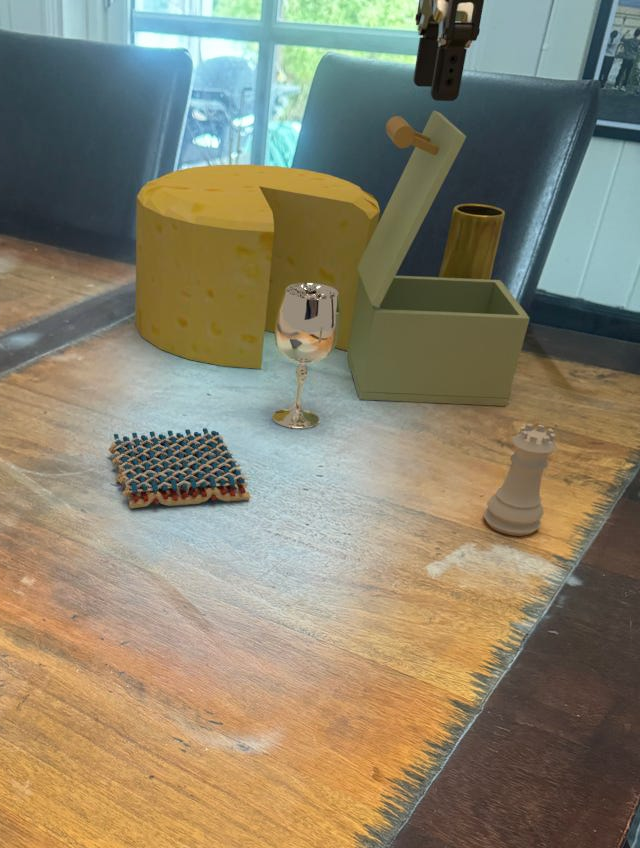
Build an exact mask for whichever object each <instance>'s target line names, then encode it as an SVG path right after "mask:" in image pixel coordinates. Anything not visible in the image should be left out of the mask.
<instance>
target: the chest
mask: <svg viewBox="0 0 640 848" xmlns="http://www.w3.org/2000/svg"><path fill="white" fill-rule="evenodd" d="M529 323H530V316H529V315H528V314H527V312H526V311H525V309H523V306H521V304H520V303H519V302H518V300H517V299H516V298H515V297H514V296H513V294H512V293H511V292H510V290H509V289H508V288H507V286H506V285H505V284H504V283H503V281H502V280H501V279H490V280H487V279H463V278H440V277H439V276H437V277H436V276H417V275H416V276H415V275H395V277H394V279H393V281H392V283H391V285H390V287H389V289H388V291H387V293H386V294H385V296H384V298H383V300H382V302H381V304H380V306H379V307H376V306H373V305H371V302H370V300H369V297H368V294H367V292H366V289H365V287H364V284H363V282H362V279H361V277H360V274H359V280H358V287H357V293H356V300H355V306H354V313H353V319H352V326H351V332H350V339H349V345H348V351H346V358H347V361H348V365H349V368H350V371H351V375H352V378H353V381H354V385H355V389H356V392H357V395H358V398H359V400H360V401H361V400H363V401H364V400H365V401H385V402H386V401H387V402H408V403H409V402H410V403H426V404H427V403H428V404H429V403H430V404H449V405H451V404H453V405H471V406H472V405H475V406H496V407H506V406H507V405H508V401H509V398H510V393H511V389H512V385H513V383H514V380H515V379H514V378H515V375H516V372H517V367H518V363H519V360H520V357H521V353H522V349H523V345H524V341H525V338H526V334H527V330H528V326H529Z"/></svg>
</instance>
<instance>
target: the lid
mask: <svg viewBox="0 0 640 848" xmlns="http://www.w3.org/2000/svg"><path fill="white" fill-rule="evenodd" d="M385 132H386V134H387V136H388V137H389V138H390V140H391V141H392V142H393V143H394V145H395V146H396V147H397V148H399V149H407V148H409V147H410V146H413V147H414V149H413V151H412V153H411V155H410V157H409V159H408V162H407V163H406V165H405V168H404V169H403V172H402V174H401V176H400V178H399V180H398V182H397V184H396V187H395V188H394V190H393V193H392V194H391V197H390V198H389V201H388V202H387V205H386V207H385V208H384V211H383V213H382V215H381V217H380V218H379V220H378V225H377V227H376V229H375V231H374V234H373V236H372V238H371V240H370V242H369V244H368V246H367V248H366V250H365V252H364V254H363V256H362V258H361V260H360V262H359V264H358V266H357V269H358V272H359V274H360V277H361V279H362V282H363V284H364V287H365V289H366V292H367V294H368V297H369V300H370V302H371V305H373V306H376V307H379V306H380V304H381V302H382V300H383V298H384V296H385V294H386V293H387V291H388V289H389V287H390V285H391V283H392V281H393V279H394V277H395V276H397V273H398V271H399V269H400V267H401V265H402V263H403V261H404V259H405V257H406V255H407V253H408V252H409V250H410V248H411V246H412V244H413V242H414V240H415V238H416V237H417V234H418V233H419V231H420V229H421V226H422V225H423V223H424V220H425V218H426V217H427V215H428V213H429V210H430V209H431V207H432V205H433V203H434V201H435V199H436V197H437V195H438V193H439V191H440V189H441V187H442V185H443V183H444V182H445V179H446V178H447V176H448V173H449V172H450V170H451V168H452V166H453V164H454V163H455V160H456V158H457V157H458V154H459V152H460V151H461V149H462V146H463V144H464V143H465V140H466V138H467V135H465V134H464V133H463V132H462V130H460V129H459V128H458V127H457V126H456V125H454V124H453V123H452V122H451V121H450V120H449V119H448V118H446V117H445V116H444V115H443V114H442V113H441V112H438V111H437V110H435V109H434V110H432V112H431V114H430V116H429V119H428V121H427V122H426V125H425V127H424V128H423V130H422V133H421V132H419V131H417V130H414V128H413V127H412V126H411V125H410V124H409V123H408V122H407V121H406V119H404V117H402V116H400V115H394V116H392V117H390V118H389V119H388V121H387V122H386V125H385Z"/></svg>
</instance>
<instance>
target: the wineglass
mask: <svg viewBox="0 0 640 848" xmlns="http://www.w3.org/2000/svg"><path fill="white" fill-rule="evenodd" d="M339 330H340V305H339V294H338V291H337V290H336V289H334V288H332V287H330V286H326V285H322V284H316V283H297V284H292V285H290V286H288V287H286V289H285V292H284V295H283V298H282V300H281V303H280V306H279V310H278V314H277V318H276V324H275V333H274V342H275V345H276V347H277V350H278V351H279V352H280V353H281V355H282V356H283V357H285V358H286V359H288V360H290V361H292V362H294V363H297V364H299V365H298V366H297V367H296V370H295V377H296V395H295V400H294V401H295V402H294V404H293V406H292V407H285V408H281V409H278V410H276V411H274V413H273V414H272V420H273V421H274V422H275V423H276V424H278V425H279V426H282V427H285V428H289V429H290V428H291V429H298V430H300V429H301V430H304V429H310V428H313V427H315V426H318V424H319V423H320V417H319V416H318V414H316V413H315V412H314V411H311V410H308V409H305V408H302V406H301V405H302V403H301V400H302V390H303V387H304V383H305V380H306V379H307V375H308V367H307V365H306V364H309V365H310V364H313V363H317V362H320V361H322V360H325V359H326V358H327V357H329V356H330V355H331V354H332V352H333V351H335V349H336V348H335V346H336V343H337V340H338V336H339Z"/></svg>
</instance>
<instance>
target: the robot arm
mask: <svg viewBox="0 0 640 848" xmlns="http://www.w3.org/2000/svg"><path fill="white" fill-rule="evenodd" d="M484 3H485V0H418V6H417V11H416V14H415V17H414V18H415V25H416V26H417V35H418V36H422V37H419V40H418V47H417V52H416V53H417V54H416V59H415V66H414V74H413V83H414V85H415V86H416V87H428V88H429V87H431V88H430V97H431V98H432V99H433V100H434V101H436V102H437V101H440V102H453V101H455V100H457V99H458V97H459V95H460V94H459V93H460V90H461V84H462V78H463V73H464V66H465V61H466V57H467V50H468V49H469V48H470V47H471V45H472V43H473V42H475V41H477V39H478V36H479V35H480V31H481V28H480V26H481V20H482V14H483V10H484Z"/></svg>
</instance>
